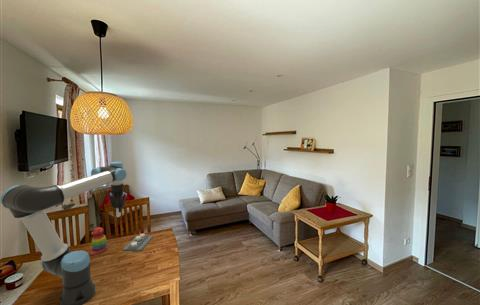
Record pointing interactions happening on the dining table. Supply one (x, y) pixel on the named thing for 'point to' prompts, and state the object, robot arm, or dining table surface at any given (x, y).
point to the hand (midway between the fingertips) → (118, 216)
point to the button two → (138, 238)
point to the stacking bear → (98, 241)
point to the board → (138, 244)
